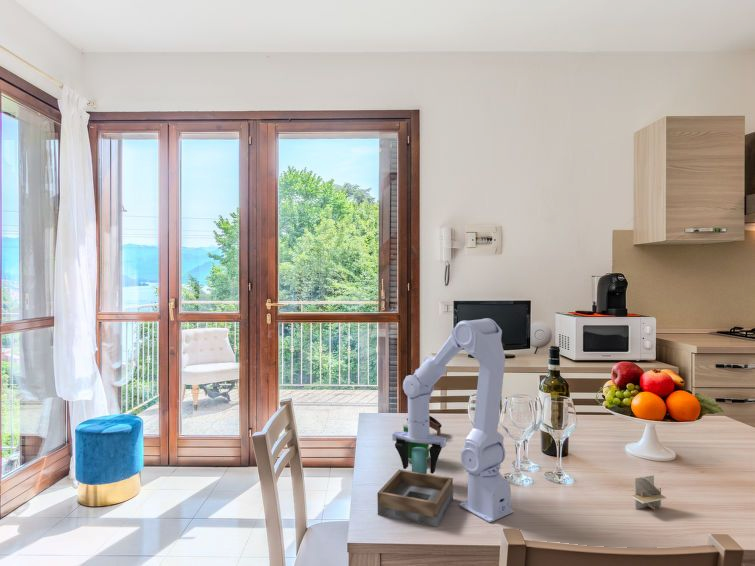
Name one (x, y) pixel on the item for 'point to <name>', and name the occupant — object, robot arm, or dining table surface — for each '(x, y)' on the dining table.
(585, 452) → the dining table surface
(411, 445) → the soda can
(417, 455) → the peg
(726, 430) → the dining table surface
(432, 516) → the socket box
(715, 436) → the dining table surface
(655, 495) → the architectural model
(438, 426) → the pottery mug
